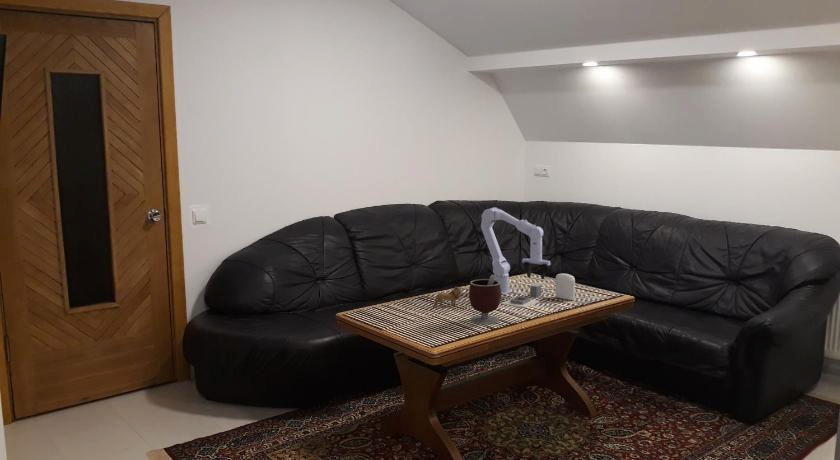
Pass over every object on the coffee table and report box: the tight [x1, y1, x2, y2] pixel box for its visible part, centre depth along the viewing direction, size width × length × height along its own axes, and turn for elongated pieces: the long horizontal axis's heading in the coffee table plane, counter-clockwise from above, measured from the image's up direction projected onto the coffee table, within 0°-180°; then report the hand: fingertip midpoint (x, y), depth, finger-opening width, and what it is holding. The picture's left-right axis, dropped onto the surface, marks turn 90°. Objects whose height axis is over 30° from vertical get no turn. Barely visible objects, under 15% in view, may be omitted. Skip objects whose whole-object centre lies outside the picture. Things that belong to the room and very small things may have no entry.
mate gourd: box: [468, 273, 502, 326], centre depth 281 cm, size 16×14×20 cm
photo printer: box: [555, 273, 576, 301], centre depth 318 cm, size 10×4×12 cm, turn 39°
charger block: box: [529, 282, 542, 298], centre depth 324 cm, size 4×5×6 cm
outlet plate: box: [500, 296, 540, 309], centre depth 311 cm, size 13×14×2 cm
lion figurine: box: [432, 286, 462, 309], centre depth 306 cm, size 15×5×9 cm, turn 111°
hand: (536, 278), depth 323 cm, fingers open, 7 cm apart
